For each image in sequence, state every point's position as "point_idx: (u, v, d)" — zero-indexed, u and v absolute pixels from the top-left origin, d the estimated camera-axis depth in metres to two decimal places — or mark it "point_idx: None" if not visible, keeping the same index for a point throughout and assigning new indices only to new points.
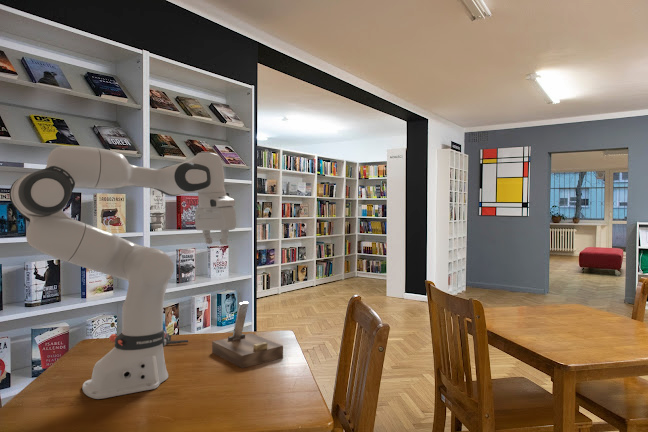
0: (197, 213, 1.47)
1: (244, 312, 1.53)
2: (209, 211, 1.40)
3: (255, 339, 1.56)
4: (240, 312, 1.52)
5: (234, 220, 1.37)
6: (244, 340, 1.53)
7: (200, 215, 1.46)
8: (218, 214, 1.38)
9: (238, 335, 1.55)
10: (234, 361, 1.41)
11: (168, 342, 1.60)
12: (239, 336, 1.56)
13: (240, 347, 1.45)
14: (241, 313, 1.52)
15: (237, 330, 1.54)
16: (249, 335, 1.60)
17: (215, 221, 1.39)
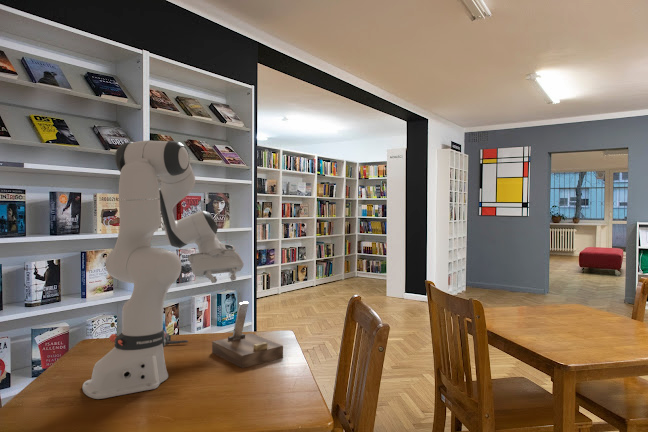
0: (198, 257, 1.62)
1: (244, 312, 1.53)
2: (221, 253, 1.68)
3: (255, 339, 1.56)
4: (240, 312, 1.52)
5: None
6: (244, 340, 1.53)
7: (202, 259, 1.62)
8: (229, 257, 1.70)
9: (238, 335, 1.55)
10: (234, 361, 1.41)
11: (167, 342, 1.60)
12: (239, 336, 1.56)
13: (240, 347, 1.45)
14: (241, 313, 1.52)
15: (237, 330, 1.54)
16: (249, 335, 1.60)
17: (227, 261, 1.68)
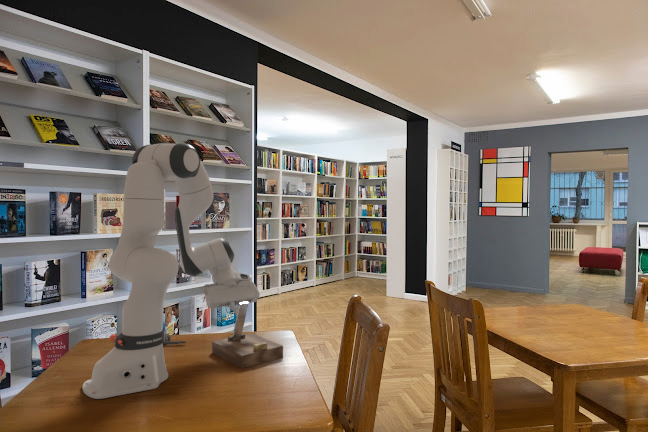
0: (213, 288, 1.53)
1: (244, 312, 1.53)
2: (236, 284, 1.59)
3: (255, 339, 1.56)
4: (240, 312, 1.52)
5: None
6: (244, 340, 1.53)
7: (217, 290, 1.54)
8: (245, 287, 1.61)
9: (238, 335, 1.55)
10: (234, 361, 1.41)
11: (165, 343, 1.60)
12: (239, 336, 1.56)
13: (240, 347, 1.45)
14: (241, 313, 1.52)
15: (237, 330, 1.54)
16: (249, 335, 1.60)
17: (243, 291, 1.59)
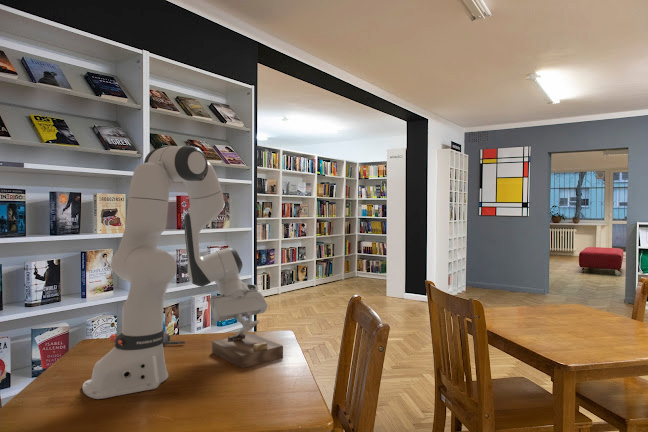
0: (220, 300, 1.49)
1: (251, 327, 1.49)
2: (244, 295, 1.55)
3: (255, 339, 1.56)
4: (248, 327, 1.48)
5: None
6: (244, 340, 1.53)
7: (224, 302, 1.50)
8: (252, 298, 1.58)
9: (238, 337, 1.55)
10: (234, 361, 1.41)
11: (165, 343, 1.60)
12: (239, 337, 1.56)
13: (240, 347, 1.45)
14: (248, 327, 1.49)
15: (239, 335, 1.53)
16: (249, 335, 1.60)
17: (250, 303, 1.55)
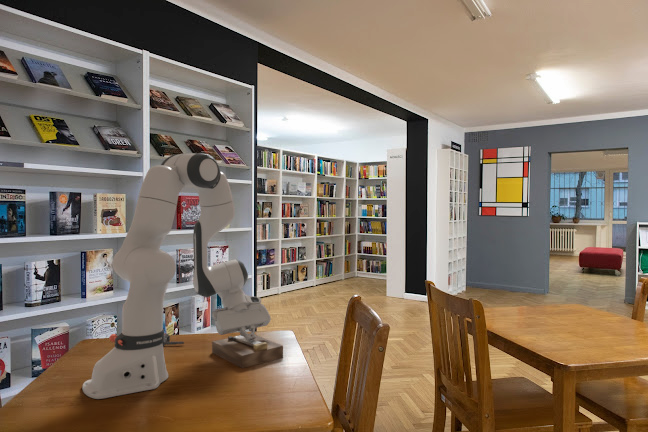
0: (223, 314, 1.48)
1: None
2: (247, 308, 1.54)
3: (255, 339, 1.56)
4: None
5: None
6: None
7: (227, 315, 1.49)
8: (256, 310, 1.56)
9: None
10: (234, 361, 1.41)
11: (164, 343, 1.59)
12: None
13: (240, 347, 1.45)
14: None
15: None
16: None
17: (253, 315, 1.54)
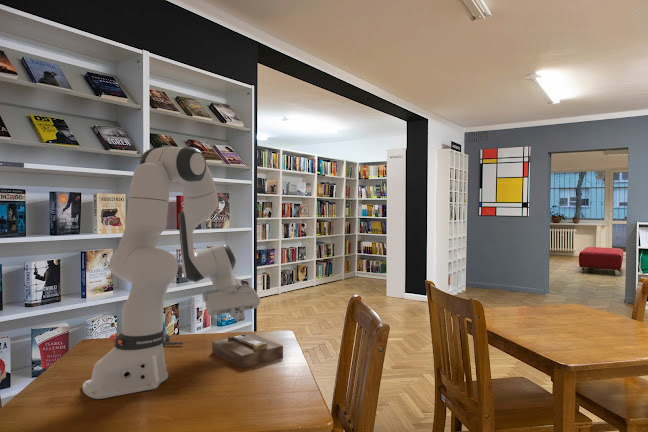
0: (213, 295, 1.53)
1: None
2: (237, 290, 1.59)
3: (255, 339, 1.56)
4: None
5: None
6: None
7: (217, 297, 1.54)
8: (245, 293, 1.61)
9: None
10: (234, 361, 1.41)
11: None
12: None
13: (240, 347, 1.45)
14: None
15: None
16: (249, 335, 1.60)
17: (243, 298, 1.59)
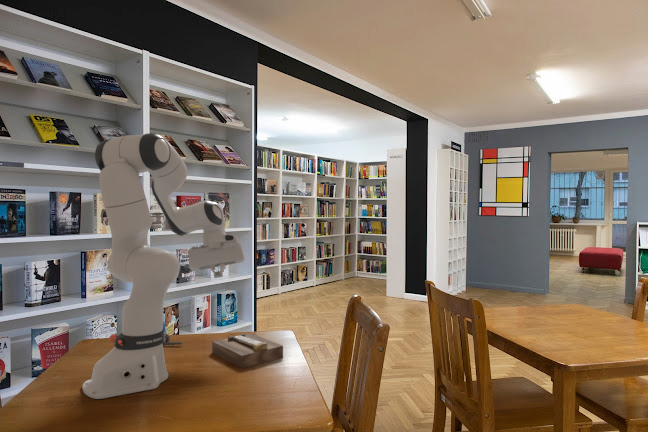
0: (194, 252, 1.61)
1: None
2: (219, 246, 1.61)
3: (255, 339, 1.56)
4: None
5: (243, 254, 1.64)
6: None
7: (198, 254, 1.61)
8: (230, 248, 1.62)
9: None
10: (234, 361, 1.41)
11: None
12: None
13: (240, 347, 1.45)
14: None
15: None
16: (249, 335, 1.60)
17: (225, 254, 1.61)
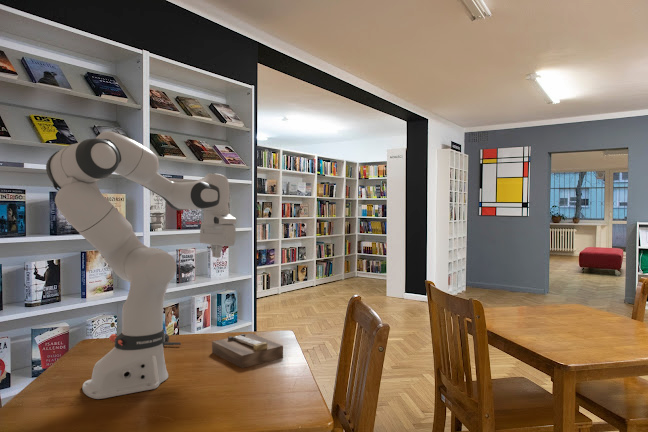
0: (202, 227, 1.61)
1: None
2: (212, 227, 1.53)
3: (255, 339, 1.56)
4: None
5: (233, 237, 1.50)
6: None
7: (204, 229, 1.60)
8: (220, 230, 1.51)
9: None
10: (234, 361, 1.41)
11: None
12: None
13: (240, 347, 1.45)
14: None
15: None
16: (249, 335, 1.60)
17: (216, 236, 1.52)
